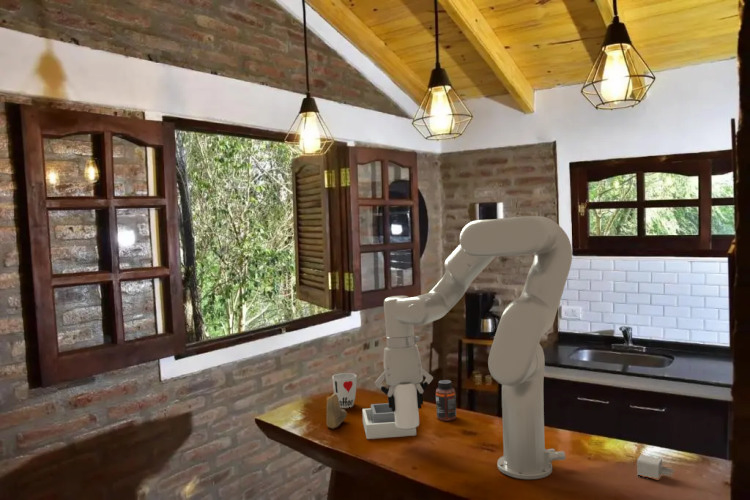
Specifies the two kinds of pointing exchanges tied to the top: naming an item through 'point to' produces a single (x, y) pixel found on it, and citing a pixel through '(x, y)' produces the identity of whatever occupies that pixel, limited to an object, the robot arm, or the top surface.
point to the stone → (334, 412)
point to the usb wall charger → (651, 467)
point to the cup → (345, 388)
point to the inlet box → (382, 423)
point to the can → (406, 406)
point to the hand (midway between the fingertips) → (406, 408)
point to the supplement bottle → (445, 401)
